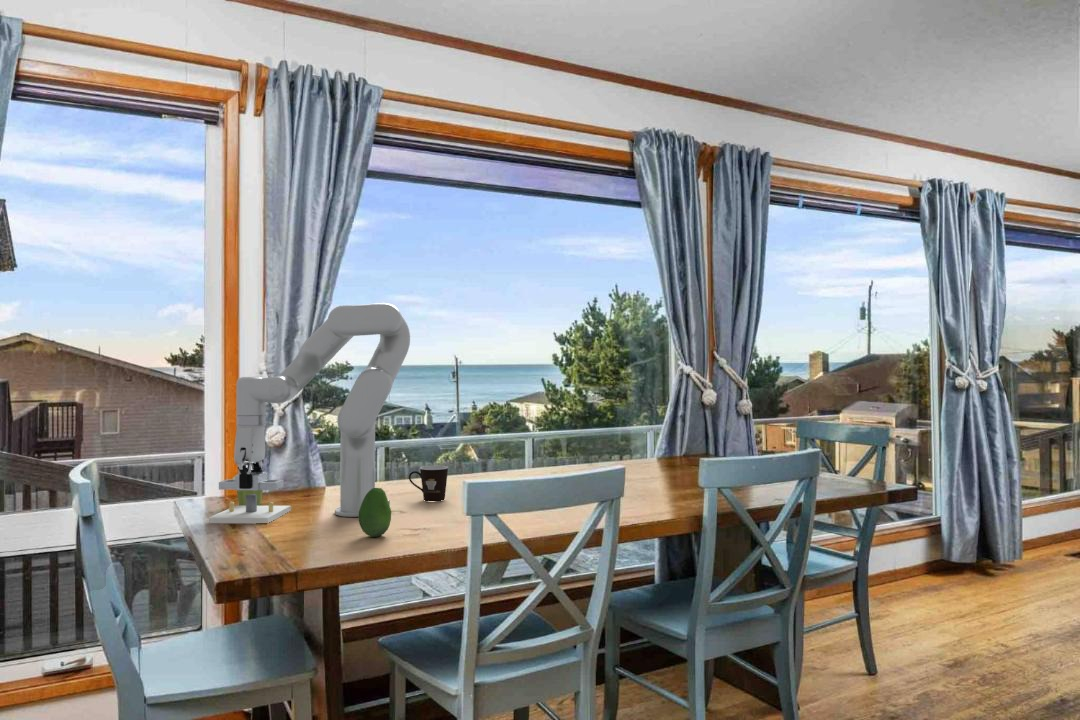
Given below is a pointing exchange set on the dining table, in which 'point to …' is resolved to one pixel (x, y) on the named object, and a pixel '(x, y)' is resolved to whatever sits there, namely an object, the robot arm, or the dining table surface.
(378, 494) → the avocado
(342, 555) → the dining table surface
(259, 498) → the plant pot
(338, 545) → the dining table surface
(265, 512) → the post block
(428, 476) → the coffee mug
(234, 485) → the bracket
